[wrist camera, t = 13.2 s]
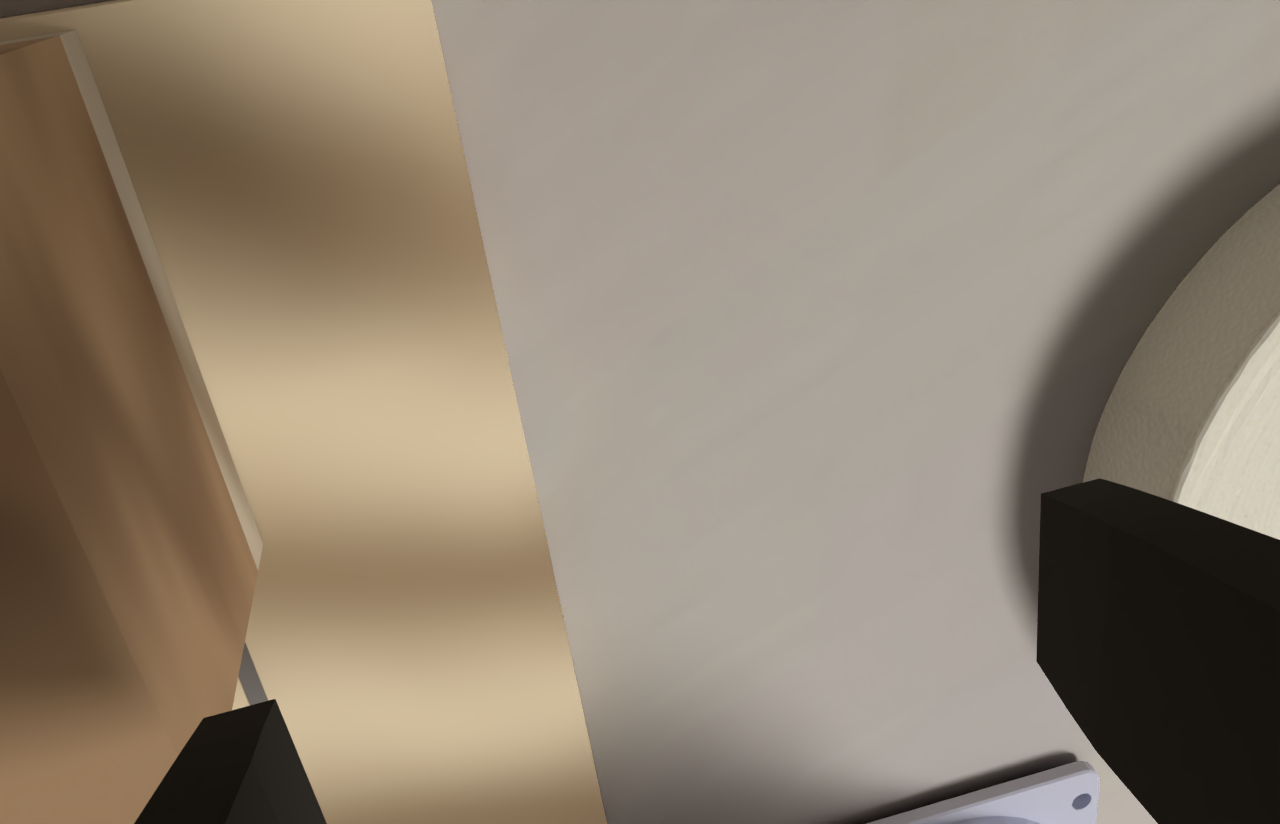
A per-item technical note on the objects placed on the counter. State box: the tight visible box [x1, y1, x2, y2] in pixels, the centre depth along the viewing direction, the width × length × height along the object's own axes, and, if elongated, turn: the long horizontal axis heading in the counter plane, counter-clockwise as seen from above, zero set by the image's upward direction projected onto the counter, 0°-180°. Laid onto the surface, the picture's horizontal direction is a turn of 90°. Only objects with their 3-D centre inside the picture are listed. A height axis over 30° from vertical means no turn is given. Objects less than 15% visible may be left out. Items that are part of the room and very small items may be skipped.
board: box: [0, 0, 607, 824], centre depth 17 cm, size 18×14×1 cm
